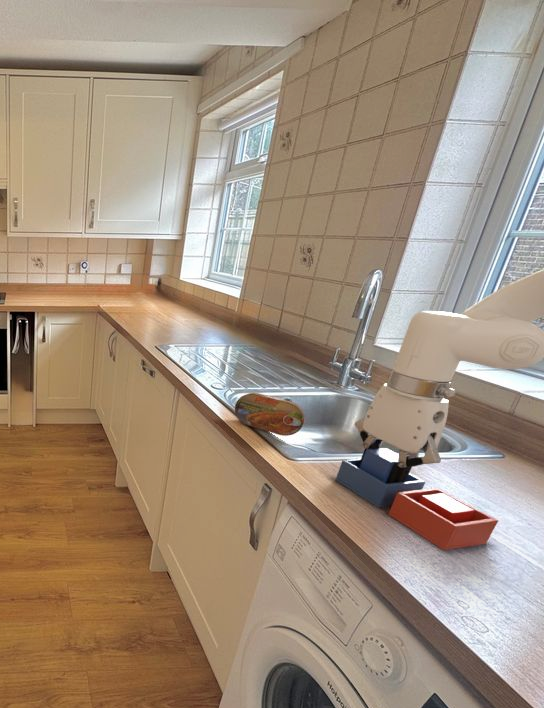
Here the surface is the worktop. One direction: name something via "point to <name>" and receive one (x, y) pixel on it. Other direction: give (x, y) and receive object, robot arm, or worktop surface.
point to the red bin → (441, 521)
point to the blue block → (379, 463)
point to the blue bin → (374, 484)
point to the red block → (447, 507)
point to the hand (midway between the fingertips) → (380, 474)
